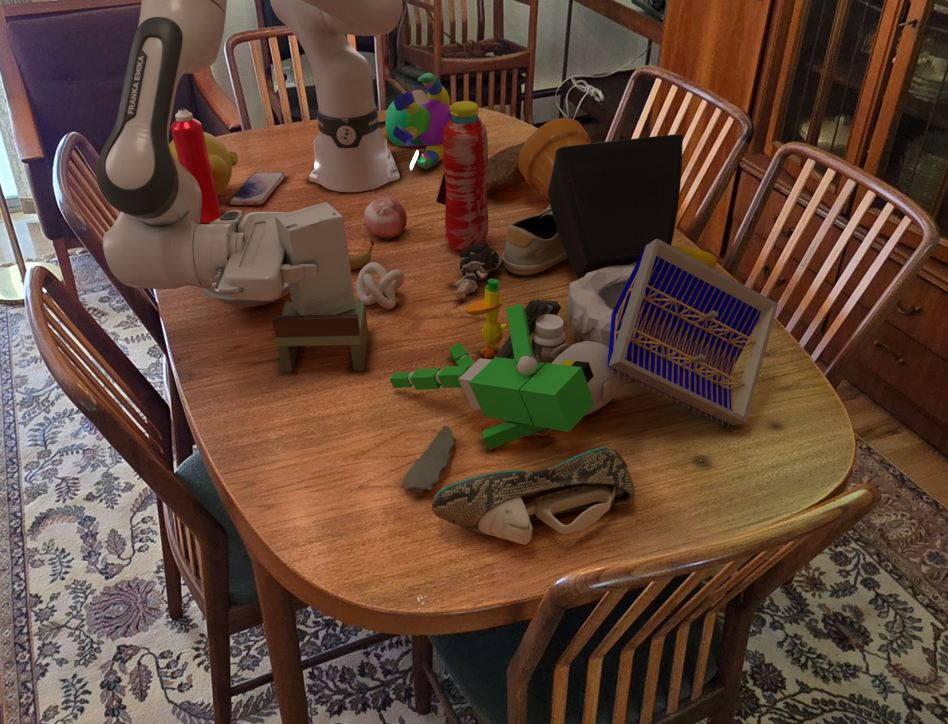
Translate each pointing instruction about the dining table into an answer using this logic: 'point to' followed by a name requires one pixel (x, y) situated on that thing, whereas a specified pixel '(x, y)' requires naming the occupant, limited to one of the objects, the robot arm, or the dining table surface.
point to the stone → (431, 463)
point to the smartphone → (257, 188)
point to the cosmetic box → (318, 259)
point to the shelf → (321, 333)
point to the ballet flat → (538, 496)
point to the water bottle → (465, 177)
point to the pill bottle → (547, 337)
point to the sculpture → (216, 161)
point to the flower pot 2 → (615, 198)
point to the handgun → (530, 322)
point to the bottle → (196, 160)
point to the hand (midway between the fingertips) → (321, 254)
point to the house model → (689, 332)
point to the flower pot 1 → (548, 150)
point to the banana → (360, 259)
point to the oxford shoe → (533, 244)
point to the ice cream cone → (419, 96)
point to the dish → (239, 302)
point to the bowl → (596, 302)
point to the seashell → (504, 169)
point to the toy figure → (489, 317)
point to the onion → (385, 218)
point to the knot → (379, 285)
